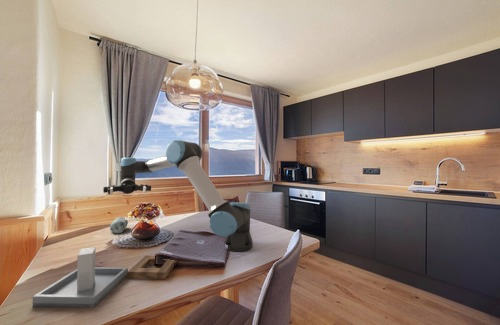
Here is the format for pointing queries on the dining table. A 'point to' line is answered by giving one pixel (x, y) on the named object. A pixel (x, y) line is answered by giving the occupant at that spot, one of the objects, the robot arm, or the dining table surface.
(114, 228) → the grey-green mottled ovoid
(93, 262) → the skincare box
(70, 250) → the dining table surface
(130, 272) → the socket block
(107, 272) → the parts tray
